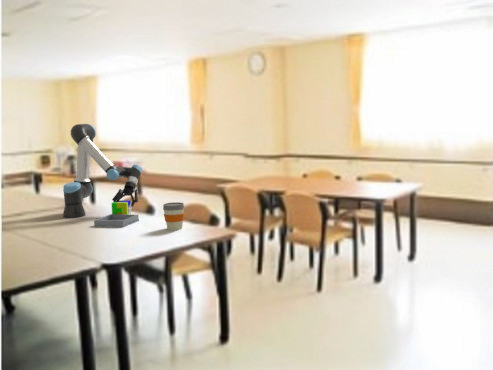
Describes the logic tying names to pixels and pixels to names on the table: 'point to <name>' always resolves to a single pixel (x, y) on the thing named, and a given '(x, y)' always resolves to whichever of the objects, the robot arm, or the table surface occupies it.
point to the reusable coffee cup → (174, 215)
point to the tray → (116, 220)
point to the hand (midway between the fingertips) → (121, 209)
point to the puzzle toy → (121, 207)
